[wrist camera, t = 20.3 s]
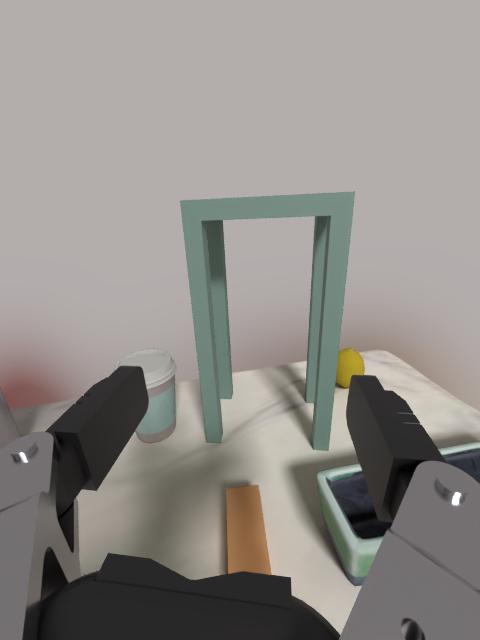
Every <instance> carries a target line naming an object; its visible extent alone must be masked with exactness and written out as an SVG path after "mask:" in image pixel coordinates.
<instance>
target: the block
mask: <svg viewBox="0 0 480 640" xmlns="http://www.w3.org/2000/svg"><path fill="white" fill-rule="evenodd" d="M226 507H227V546H228V574H230V573H236V572H241V571H246V572H253V573H261V574H268V575H271V568H270V561H269V554H268V548H267V541H266V534H265V527H264V520H263V513H262V507H261V500H260V493H259V486H258V485H254V486H243V487H232V488H226Z"/></svg>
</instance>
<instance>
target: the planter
mask: <svg viewBox="0 0 480 640" xmlns="http://www.w3.org/2000/svg"><path fill="white" fill-rule="evenodd" d="M438 450H439V451H440V453H441V454H442V456H443V457H444V459H445V460H446V462H447V463H448V464H450V465H452V466H454V467H457V468H458V469H460V470H462V471H464V472H465V473H467V474H468V475H470V476H471V477H472V478H474V479H475V480H476V481H477V482H478V483H479V484H480V441H479V442H473V443H468V444H462V445H457V446H451V447H446V448H440V449H438ZM317 487H318V492H319V497H320V502H321V507H322V511H323V516H324V520H325V524H326V528H327V531H328V533H329V536H330V538H331V541H332V543H333V545H334V548H335V550H336V552H337V555H338V557H339V559H340V562H341V564H342V566H343V569H344V571H345V573H346V575H347V577H348V579H349V581H350V582H351V583H352V584H353V585H354V586H361V585H363V583H364V581H365V578H366V576H367V574H368V572H369V569H370V567H371V565H372V562H373V560H374V558H375V555H376V553H377V551H378V549H379V546H380V544H381V542H382V539H383V537H384V535H385V533H386V531H387V529H388V528H391V526H392V524H393V522H383V521H378V518H377V515H376V512H375V509H374V506H373V503H372V499H371V496H370V493H369V490H368V487H367V484H366V481H365V478H364V475H363V472H362V469H361V466H360V463H359V464H354V465H348V466H343V467H338V468H333V469H329V470H324V471H321V472H318V474H317Z"/></svg>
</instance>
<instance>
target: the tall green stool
mask: <svg viewBox="0 0 480 640" xmlns="http://www.w3.org/2000/svg"><path fill="white" fill-rule="evenodd" d="M354 196H355V192H340V193H321V194H320V193H319V194H300V195H282V196H281V195H280V196H261V197H243V198H223V199H203V200H184V201H180V203H181V213H182V221H183V231H184V240H185V250H186V259H187V268H188V277H189V286H190V295H191V304H192V313H193V322H194V331H195V340H196V349H197V358H198V367H199V375H200V385H201V394H202V404H203V413H204V422H205V431H206V440H207V442H211V443H220V442H221V438H222V434H223V427H222V415H221V403H220V399H231V398H232V394H233V384H232V369H231V351H230V336H229V318H228V300H227V284H226V267H225V250H224V233H223V220H233V219H257V218H281V217H303V216H304V217H305V216H315V229H314V245H313V264H312V281H311V300H310V317H309V336H308V353H307V371H306V389H305V398H306V403H314V413H313V427H312V444H313V450H325V451H328V450H329V441H330V431H331V421H332V411H333V401H334V392H335V382H336V372H337V362H338V353H339V343H340V333H341V323H342V313H343V304H344V294H345V284H346V273H347V265H348V255H349V245H350V235H351V225H352V216H353V206H354ZM206 229H207V230H206ZM207 241H208V242H207ZM208 253H209V255H208ZM209 266H210V267H209ZM210 278H211V279H210ZM211 291H212V292H211ZM212 303H213V304H212ZM213 315H214V316H213ZM214 328H215V329H214ZM215 340H216V341H215ZM216 352H217V353H216ZM217 365H218V366H217ZM218 377H219V378H218ZM219 389H220V390H219Z"/></svg>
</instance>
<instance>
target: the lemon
mask: <svg viewBox="0 0 480 640" xmlns="http://www.w3.org/2000/svg"><path fill="white" fill-rule="evenodd" d="M352 375H364V361H363V358H362V357H361V355H360V354H359V353H358V352H356V351H355V350H352V349H351V348H348V349H343V350H341V351H339V353H338V362H337V372H336V382H337V383H338V384H339V385H341V386H343V387H344V388H347V387H350V380H351V376H352Z"/></svg>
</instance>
